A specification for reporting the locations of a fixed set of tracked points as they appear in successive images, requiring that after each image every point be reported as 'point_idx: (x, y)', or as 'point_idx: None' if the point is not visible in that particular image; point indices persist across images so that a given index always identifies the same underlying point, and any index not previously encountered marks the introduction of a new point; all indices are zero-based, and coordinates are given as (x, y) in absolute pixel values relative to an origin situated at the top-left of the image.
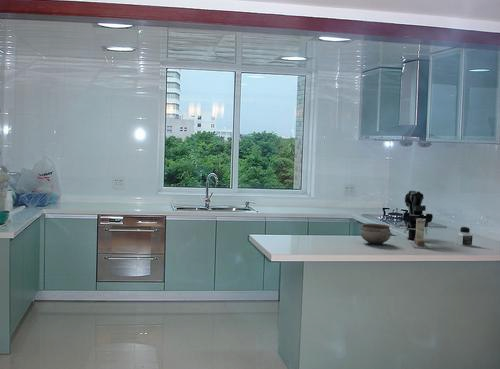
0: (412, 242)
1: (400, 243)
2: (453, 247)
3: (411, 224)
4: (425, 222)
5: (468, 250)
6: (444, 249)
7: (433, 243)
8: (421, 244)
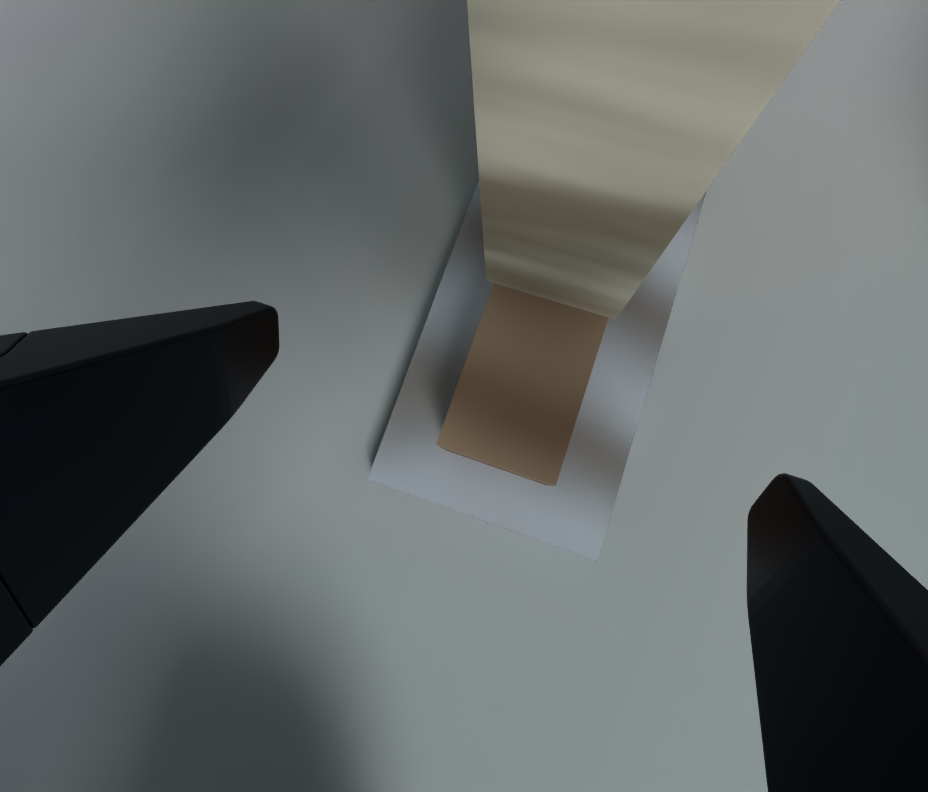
0: (581, 478)
1: None
2: (73, 220)
3: (812, 517)
4: (66, 432)
5: (29, 26)
6: (312, 56)
7: (151, 569)
8: None
